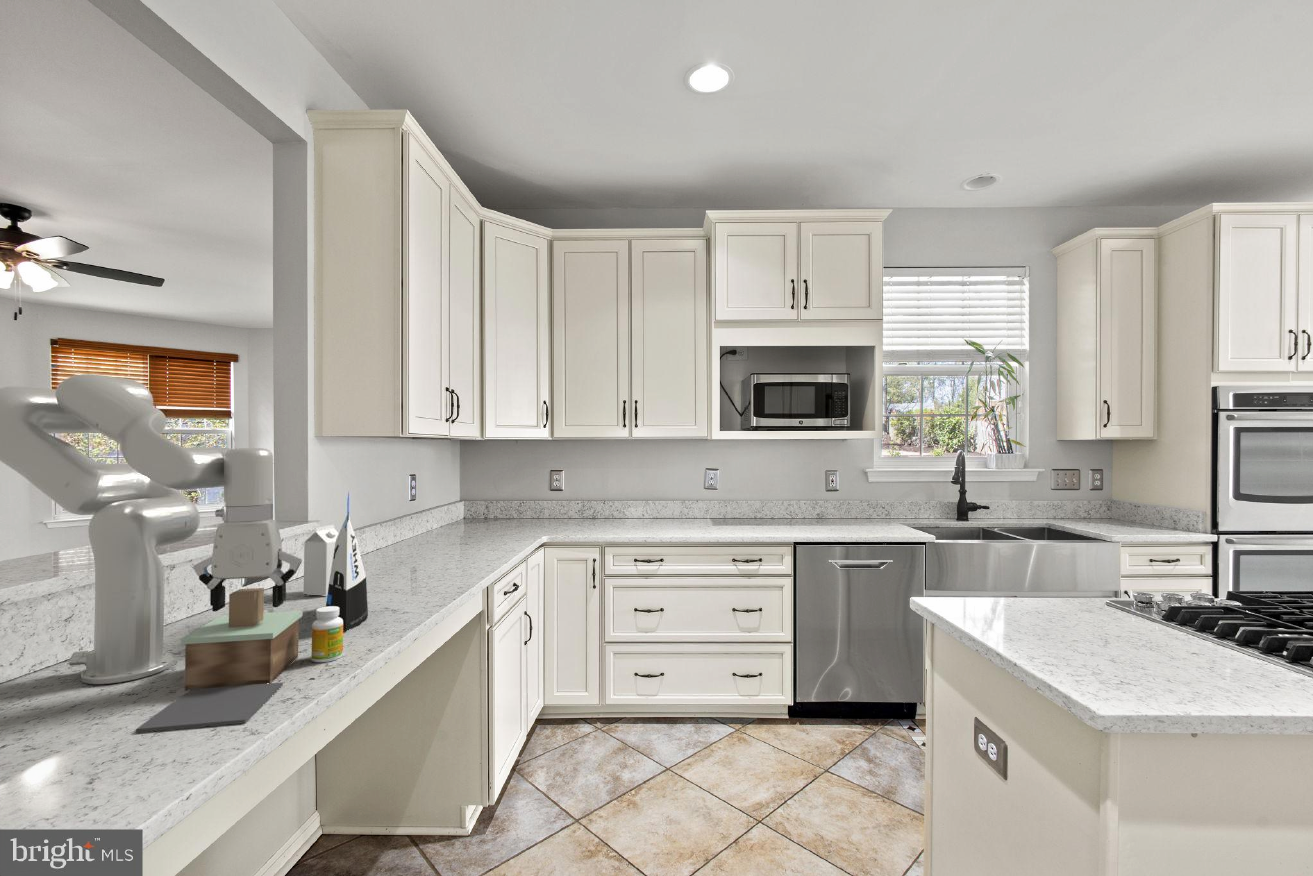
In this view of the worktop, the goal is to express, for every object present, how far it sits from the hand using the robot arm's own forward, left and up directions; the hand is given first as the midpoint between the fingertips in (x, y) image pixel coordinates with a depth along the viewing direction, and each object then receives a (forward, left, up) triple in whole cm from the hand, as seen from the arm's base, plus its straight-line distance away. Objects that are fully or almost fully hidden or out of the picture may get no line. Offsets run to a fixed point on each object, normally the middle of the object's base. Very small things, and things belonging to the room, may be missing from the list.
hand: (248, 607), depth 107 cm
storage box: (0, 0, -12) cm, 12 cm away
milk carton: (-5, +60, -12) cm, 62 cm away
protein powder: (+8, +33, -12) cm, 36 cm away
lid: (0, 0, -4) cm, 4 cm away
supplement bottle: (+12, +5, -12) cm, 18 cm away
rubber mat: (+2, -15, -12) cm, 19 cm away
